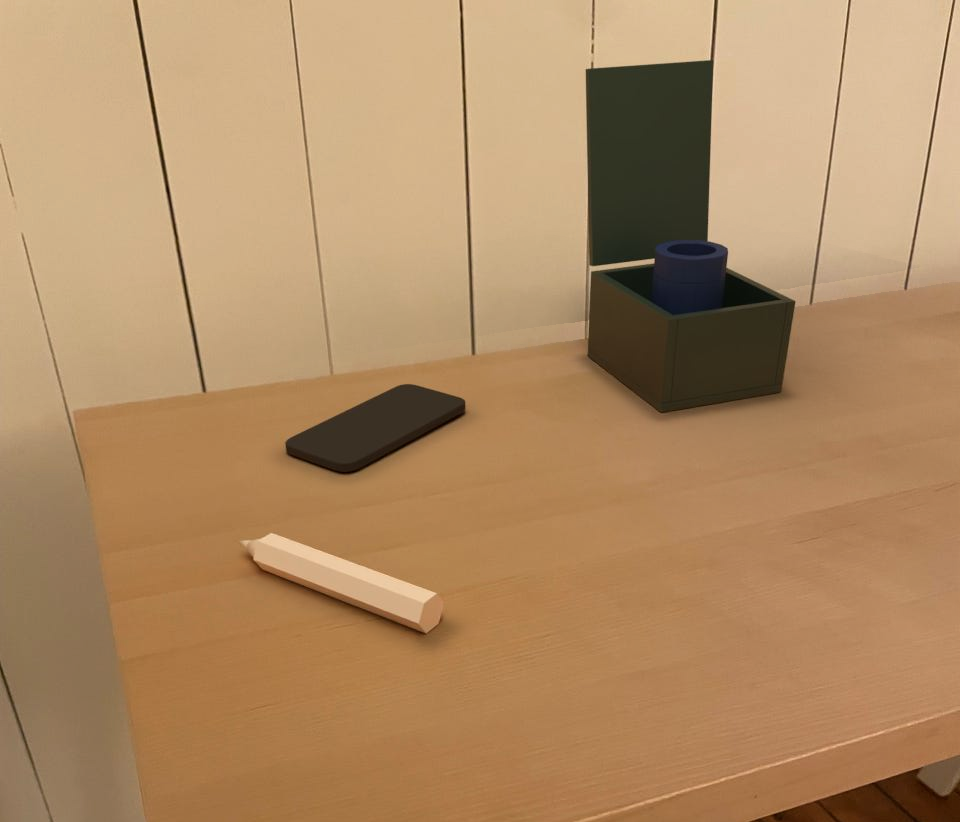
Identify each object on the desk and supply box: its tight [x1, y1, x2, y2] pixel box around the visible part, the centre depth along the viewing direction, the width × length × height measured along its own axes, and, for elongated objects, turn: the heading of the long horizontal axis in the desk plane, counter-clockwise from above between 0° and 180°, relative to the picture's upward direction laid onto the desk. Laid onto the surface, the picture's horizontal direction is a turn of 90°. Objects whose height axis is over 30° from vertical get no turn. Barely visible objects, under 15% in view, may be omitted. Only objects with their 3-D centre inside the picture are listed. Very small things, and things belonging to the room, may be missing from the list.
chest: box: [587, 262, 796, 413], centre depth 89 cm, size 15×12×8 cm
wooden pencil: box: [236, 532, 445, 634], centre depth 62 cm, size 3×2×16 cm
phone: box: [284, 383, 466, 473], centre depth 82 cm, size 7×1×15 cm
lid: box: [585, 59, 714, 267], centre depth 90 cm, size 15×12×5 cm
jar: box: [651, 240, 729, 315], centre depth 88 cm, size 6×6×10 cm
